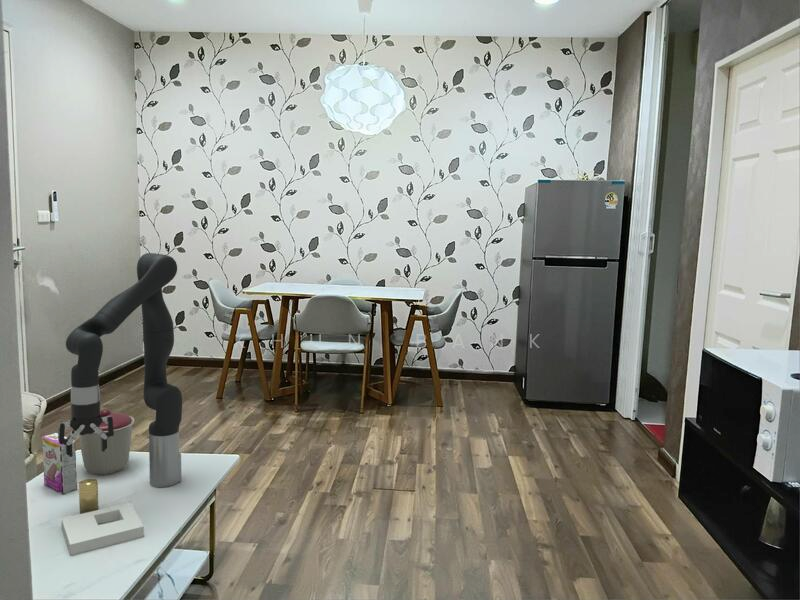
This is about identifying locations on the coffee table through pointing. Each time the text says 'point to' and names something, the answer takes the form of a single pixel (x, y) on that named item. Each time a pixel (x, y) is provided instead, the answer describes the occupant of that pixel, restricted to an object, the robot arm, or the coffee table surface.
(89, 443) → the canister
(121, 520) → the jig
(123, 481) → the coffee table surface
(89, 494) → the gold metal peg
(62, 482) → the candy bar box
